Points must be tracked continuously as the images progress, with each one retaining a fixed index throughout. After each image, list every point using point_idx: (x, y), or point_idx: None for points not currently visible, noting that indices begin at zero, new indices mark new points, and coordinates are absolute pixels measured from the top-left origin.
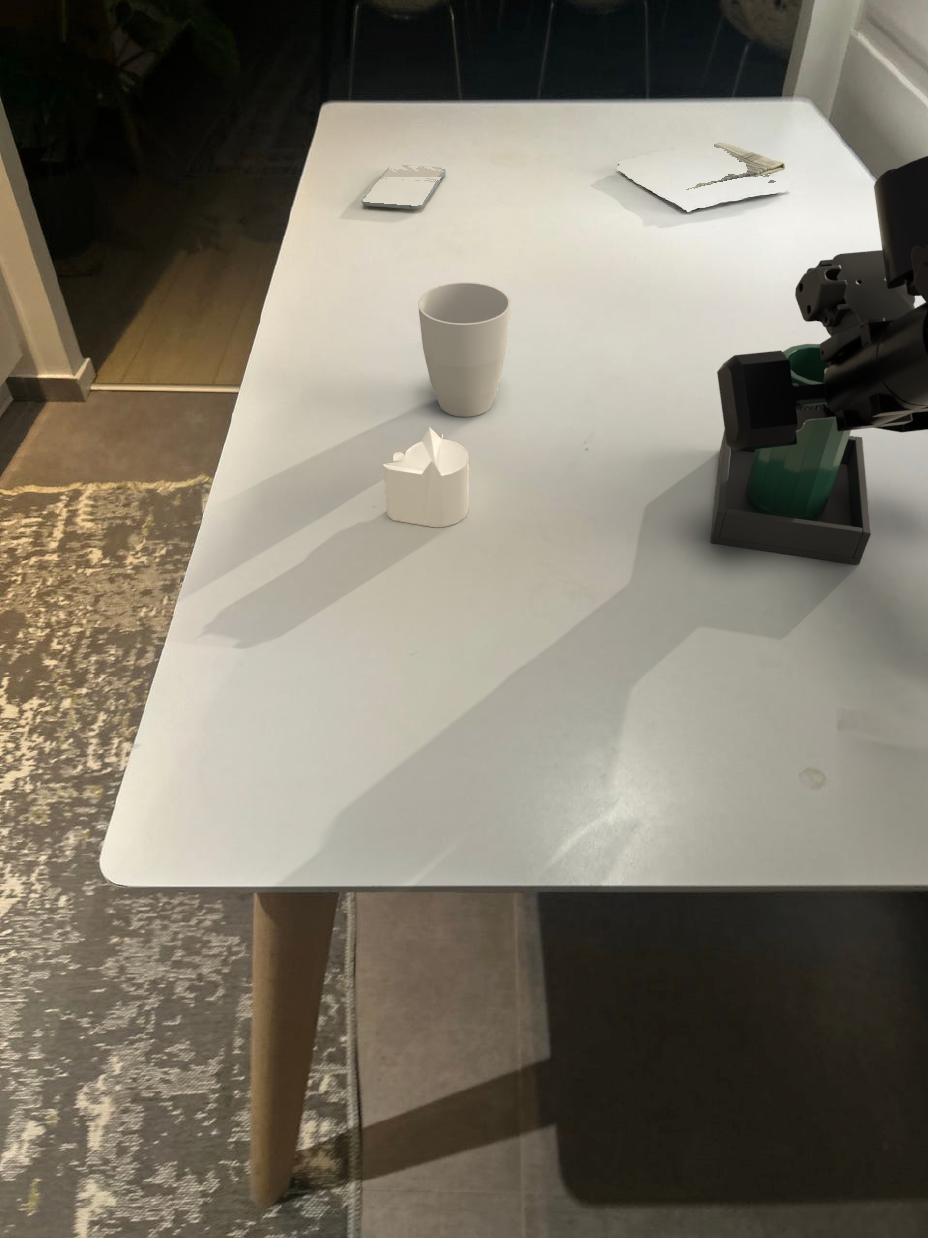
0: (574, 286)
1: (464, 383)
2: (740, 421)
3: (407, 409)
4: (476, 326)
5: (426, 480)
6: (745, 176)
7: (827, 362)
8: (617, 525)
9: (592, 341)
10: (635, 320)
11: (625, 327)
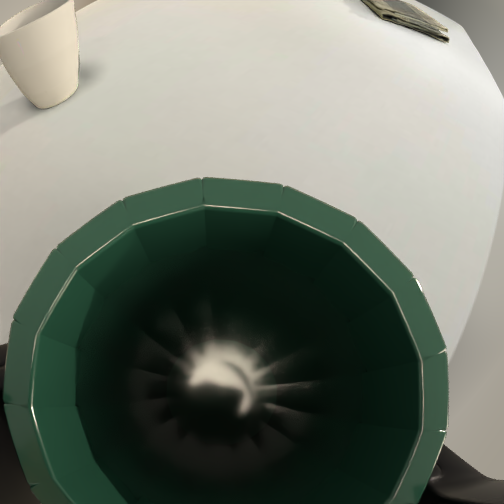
0: (259, 18)
1: (19, 84)
2: None
3: (22, 95)
4: (2, 38)
5: None
6: (424, 22)
7: (343, 298)
8: (6, 315)
9: (221, 53)
10: (280, 49)
11: (265, 51)
